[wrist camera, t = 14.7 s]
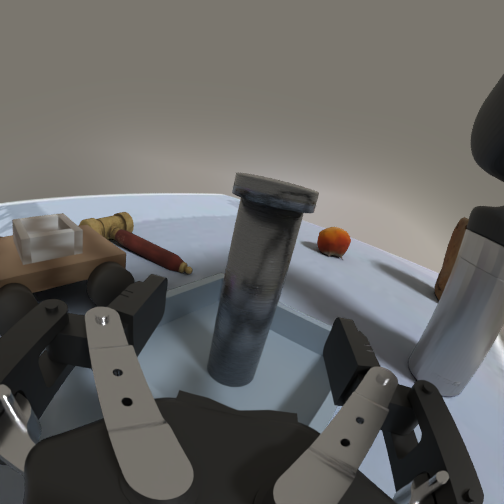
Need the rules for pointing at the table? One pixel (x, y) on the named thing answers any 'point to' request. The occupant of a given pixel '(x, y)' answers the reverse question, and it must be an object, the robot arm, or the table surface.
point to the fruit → (333, 241)
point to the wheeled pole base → (56, 264)
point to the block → (450, 256)
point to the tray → (269, 368)
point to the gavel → (135, 241)
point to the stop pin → (255, 273)
